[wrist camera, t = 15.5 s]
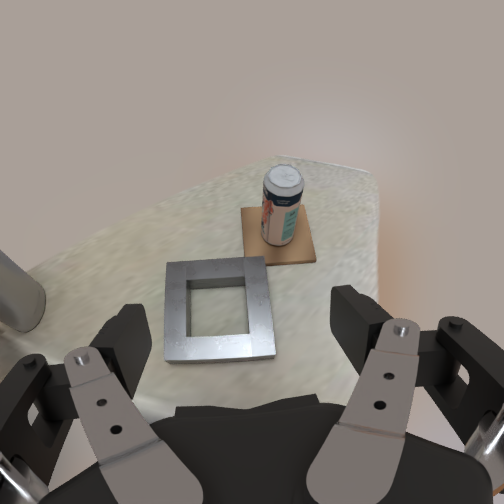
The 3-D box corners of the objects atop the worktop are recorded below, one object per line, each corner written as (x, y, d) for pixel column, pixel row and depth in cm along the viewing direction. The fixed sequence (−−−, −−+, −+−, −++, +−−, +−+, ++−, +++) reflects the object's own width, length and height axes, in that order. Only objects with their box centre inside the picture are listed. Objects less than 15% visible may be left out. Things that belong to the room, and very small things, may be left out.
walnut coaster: (245, 267, 41) (245, 264, 40) (241, 211, 46) (240, 207, 45) (315, 262, 41) (316, 259, 41) (303, 207, 46) (303, 204, 46)
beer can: (267, 216, 44) (271, 157, 34) (297, 226, 43) (309, 168, 33) (256, 241, 42) (257, 183, 32) (287, 251, 41) (299, 195, 31)
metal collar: (170, 363, 34) (163, 360, 31) (171, 272, 40) (166, 262, 38) (273, 358, 34) (275, 354, 32) (263, 266, 41) (264, 255, 38)
